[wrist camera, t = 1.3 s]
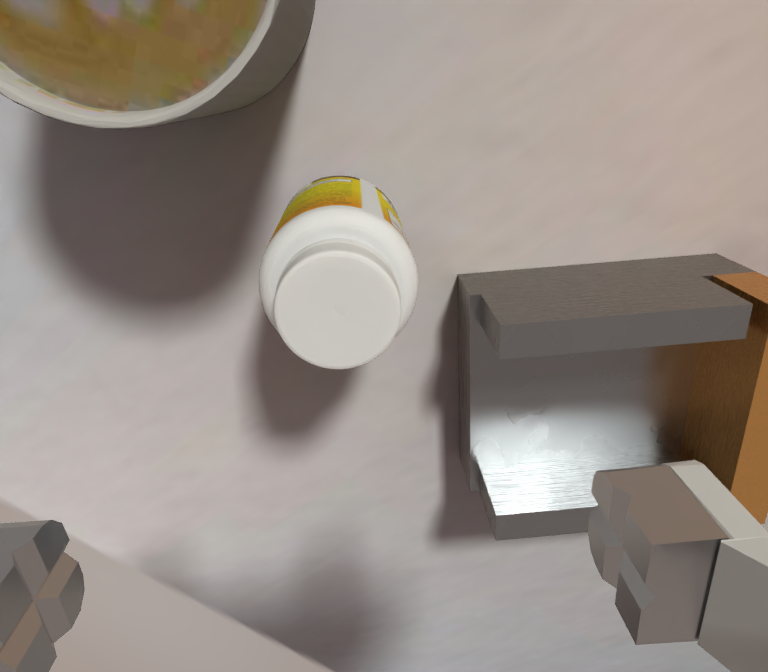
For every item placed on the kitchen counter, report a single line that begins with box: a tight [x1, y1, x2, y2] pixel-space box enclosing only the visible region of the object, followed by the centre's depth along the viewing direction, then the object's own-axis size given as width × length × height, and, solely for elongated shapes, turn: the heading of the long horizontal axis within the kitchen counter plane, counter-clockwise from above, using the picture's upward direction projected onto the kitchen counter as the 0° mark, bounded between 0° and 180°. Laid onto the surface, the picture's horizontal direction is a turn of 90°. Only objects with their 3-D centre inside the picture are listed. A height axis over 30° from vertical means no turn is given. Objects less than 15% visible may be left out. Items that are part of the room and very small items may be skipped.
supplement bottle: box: [259, 175, 418, 369], centre depth 22 cm, size 6×6×10 cm
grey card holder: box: [458, 254, 768, 540], centre depth 27 cm, size 13×11×7 cm
